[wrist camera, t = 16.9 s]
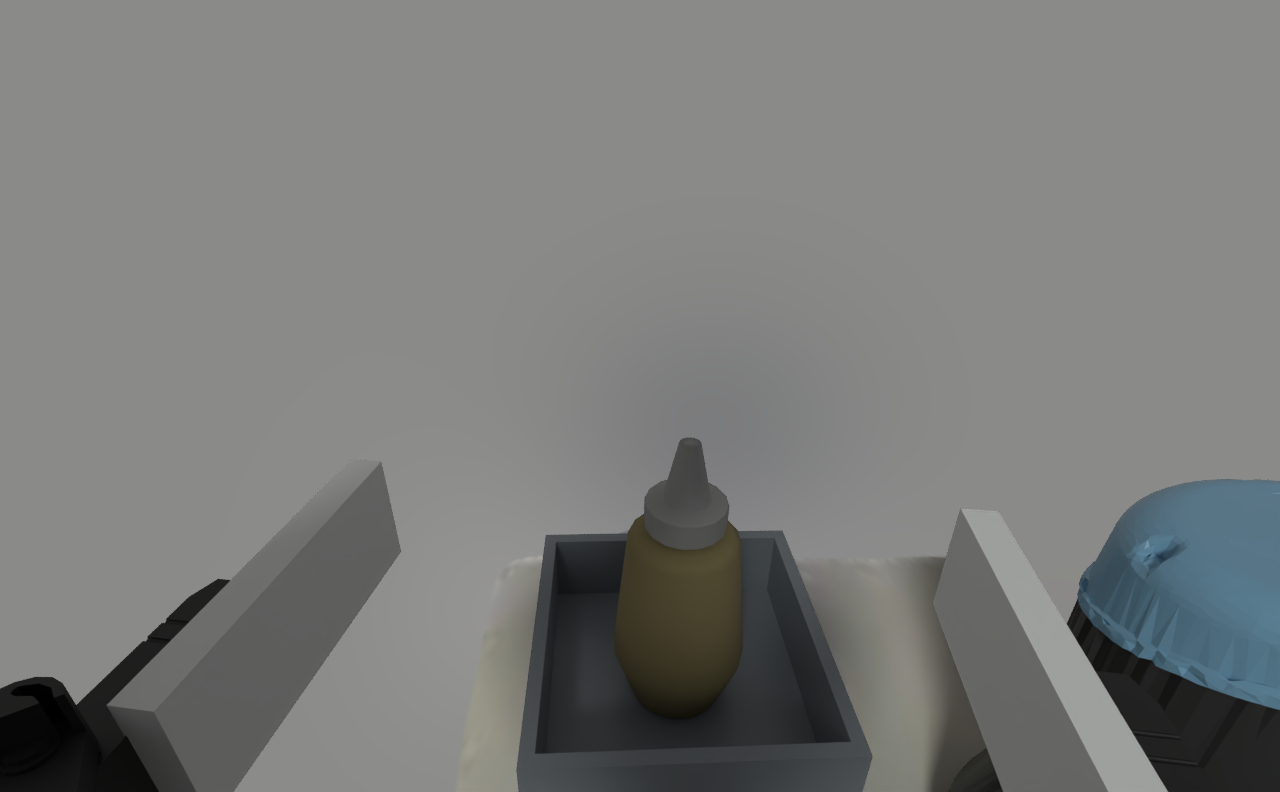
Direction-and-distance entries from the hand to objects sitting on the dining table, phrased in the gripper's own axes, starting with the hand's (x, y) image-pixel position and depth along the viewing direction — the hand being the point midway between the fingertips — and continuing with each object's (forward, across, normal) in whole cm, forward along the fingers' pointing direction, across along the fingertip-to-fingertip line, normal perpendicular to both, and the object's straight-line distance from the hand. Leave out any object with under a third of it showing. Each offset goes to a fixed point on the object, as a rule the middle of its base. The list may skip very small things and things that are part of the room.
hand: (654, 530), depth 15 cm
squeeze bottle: (+16, 0, -26) cm, 31 cm away
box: (+16, 0, -27) cm, 31 cm away
